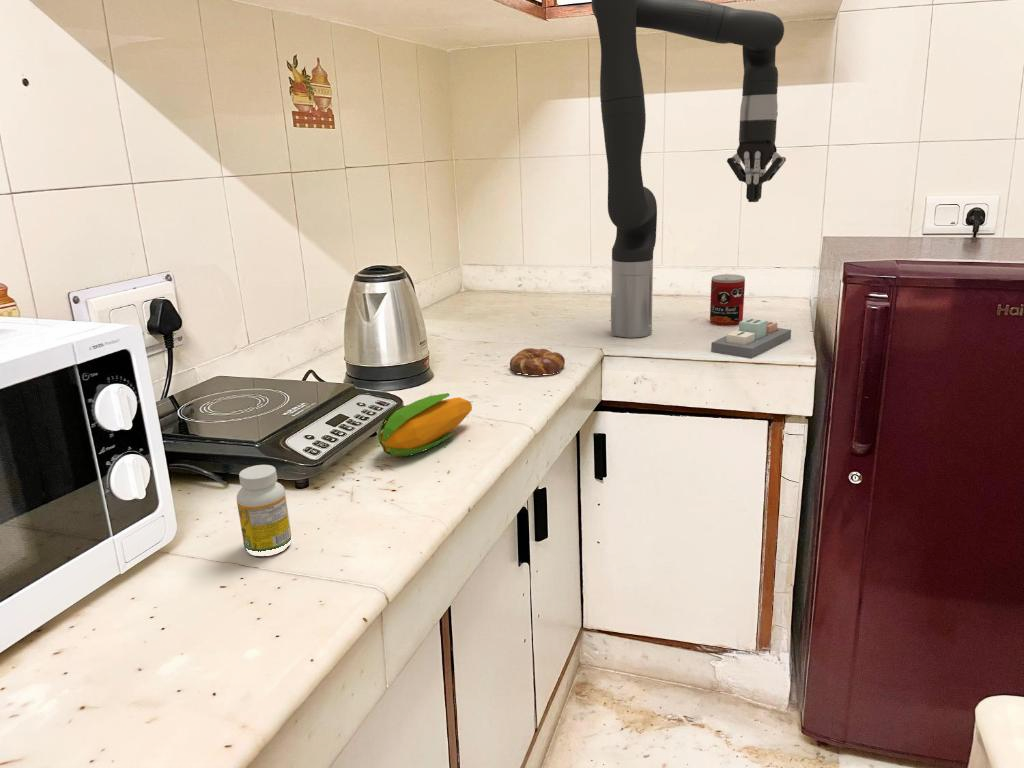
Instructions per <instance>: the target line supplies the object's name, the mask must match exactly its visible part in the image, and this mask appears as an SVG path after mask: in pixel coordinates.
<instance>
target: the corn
mask: <svg viewBox="0 0 1024 768" xmlns="http://www.w3.org/2000/svg"><path fill="white" fill-rule="evenodd" d="M448 397H450V393H449V392H447V393H440V394H434V395H428V396H426V397H424V398H423V397H422V398H420V399H418V400H415V401H413V402H411V403H410V404H406V405H402V406H399V407H397V408H396V409H394V410H392V411H390V412H389V413H388V414H387V415H386V417H385V418H384V419H383V420H382V421H381V422H380V426H379V428H378V431H377V439H378V442H379V444H380V446H381V448H382V450H383V451H384V452H385V453H386V454H388V455H392V456H395V457H400V456H404V457H408V456H407V455H410V456H412V455H411V454H414V455H416V454H415V453H417V454H419V453H418V452H420V453H422V452H424V451H423V450H425V449H427V450H429V449H431V448H433V447H435V446H437V445H439V444H441V443H443V442H444V441H446V440H447V439H449V438H450V436H451V437H452V436H453V435H455V434H456V433H457V432H456V431H453V430H454V429H456V428H457V427H459V425H460V424H461V423H462V422H463V421H464V419H465V418H466V417H468V415H469V414H470V413H471V411H472V409H473V406H472V402H471V401H470V400H467V399H465V398H462V397H460V396H459V397H453V398H448ZM446 398H447V399H446ZM385 420H386V421H387V422H386V423H385V424H384V422H385ZM382 424H383V425H382ZM452 431H453V432H452ZM445 439H446V440H445ZM442 441H443V442H442ZM440 442H441V443H440ZM438 443H439V444H438ZM436 444H437V445H436ZM434 445H435V446H434ZM432 446H433V447H432ZM430 447H431V448H430ZM428 448H429V449H428ZM421 451H422V452H421ZM425 451H426V450H425Z"/></svg>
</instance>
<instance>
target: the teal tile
mask: <svg viewBox="0 0 1024 768" xmlns="http://www.w3.org/2000/svg"><path fill="white" fill-rule="evenodd" d="M767 322H768V320H764V319H756V318H749V317H748V318H746V319H745V318H744V319H743V320H742V321H741V322H739V324H738V331H742V332H749V333H755V340H759V339H761V338H763V337H765V336H766V327H767Z"/></svg>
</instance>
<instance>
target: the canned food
mask: <svg viewBox="0 0 1024 768" xmlns="http://www.w3.org/2000/svg"><path fill="white" fill-rule="evenodd" d="M745 278H746V277H745V276H743V275H740V274H731V273H730V274H726V273H725V274H716V275H713V276H711V280H710V281H711V282H710V307H709V322H710V323H711V324H712V323H713V325H715V324H716V325H715V326H721V325H733V326H738V325H739V322H741V321H743V320H744V319H743V318H744V307H745V306H744V304H745V287H746V279H745ZM737 324H738V325H737Z"/></svg>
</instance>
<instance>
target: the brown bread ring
mask: <svg viewBox="0 0 1024 768" xmlns="http://www.w3.org/2000/svg"><path fill="white" fill-rule="evenodd" d="M565 360H566V359H565V357H564V356H563V355H562V354H561V353H559V352H557V351H556V352H555V351H554V352H552V351H551V350H549V349H547V348H539V349H537V348H531V347H530V348H525V349H524V348H523V349H522V350H520V351H518V352H517V353H516V354H515V355H514V356H512V358H511V359H510V360H509V367H510V370H511V369H512V370H513V371H512V370H511V371H512V372H514V373H515V374H516V373H521V374H528V375H543V374H553V373H557V372H559V371H560V372H561V371H562V369H564V367H565V365H566V364H565V363H566V361H565ZM561 368H562V369H561ZM560 372H559V373H560ZM557 374H558V373H557ZM528 375H527V376H528Z"/></svg>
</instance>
